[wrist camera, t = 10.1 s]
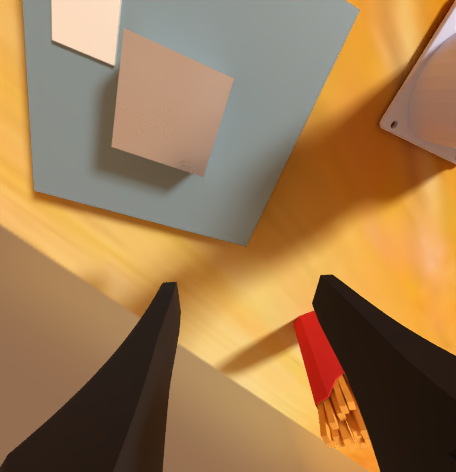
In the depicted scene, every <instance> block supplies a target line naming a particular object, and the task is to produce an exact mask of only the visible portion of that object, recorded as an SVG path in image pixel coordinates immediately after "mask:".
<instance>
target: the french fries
mask: <svg viewBox="0 0 456 472" xmlns="http://www.w3.org/2000/svg"><path fill="white" fill-rule="evenodd" d="M293 324H294V327H295V331H296V335H297V339H298V342H299V346H300V350H301V353H302V357H303V361H304V365H305V368H306V372H307V376H308V379H309V383H310V387H311V391H312V394H313V398H314V402H315V405H316V407H317V409H318V414H319V423H320V431H321V437H322V438H323V440H324V442H325V443H326V444H328V447H331V448H335V444H336V445H339V447H345V448H349V451H352V450H356V447H355V443H354V441H353V438H352V436H351V433H350V431H349V429H348V426H347V423H348V425H349V427H350V429H351V431H352V433H353V436H354V439H355V441H356V443H360V446H361V449H363V448H368V447H370V446H372V444H371V441H370V438H369V435H368V432H367V429H366V426H365V424H364V421H363V418H362V416H361V413H360V410H359V408H358V405H357V402H356V400H355V397H354V395H353V392H352V390H351V387H350V385H349V382H348V380H347V377H346V375H345V373H344V371H343V369H342V367H341V365H340V363H339V361H338V359H337V357H336V355H335V353H334V351H333V349H332V347H331V345H330V343H329V341H328V339H327V337H326V335H325V334H324V332H323V330H322V328H321V326H320V323H319V321H318V319H317V316H316V313H315V311H312V312H310V313H307V314H304V315H302V316H300V317H299V318H298V319H297V320H296V321H295V322H294V323H293ZM346 421H347V423H346ZM334 442H335V443H334Z"/></svg>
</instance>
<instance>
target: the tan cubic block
mask: <svg viewBox="0 0 456 472" xmlns="http://www.w3.org/2000/svg"><path fill="white" fill-rule="evenodd" d="M233 81H234V78H232V77H230V76H227V75H225V74H223V73H221V72H219V71H217V70H214V69H212V68H210V67H208V66H206V65H204V64H201V63H199V62H197V61H195V60H193V59H190V58H188V57H186V56H184V55H182V54H180V53H177V52H175V51H173V50H171V49H169V48H167V47H164V46H162V45H160V44H158V43H156V42H154V41H151V40H149V39H147V38H145V37H143V36H140V35H138V34H136V33H134V32H132V31H130V30H127V29H125V28H124V31H123V40H122V50H121V60H120V69H119V79H118V89H117V98H116V108H115V118H114V127H113V137H112V146H111V147H114V148H117V149H120V150H123V151H126V152H129V153H132V154H135V155H138V156H141V157H144V158H147V159H150V160H153V161H156V162H159V163H162V164H165V165H168V166H171V167H174V168H177V169H180V170H183V171H186V172H189V173H192V174H195V175H198V176H201V177H204V174H205V170H206V167H207V164H208V161H209V158H210V154H211V151H212V148H213V145H214V142H215V138H216V135H217V132H218V129H219V126H220V122H221V119H222V116H223V113H224V110H225V106H226V103H227V100H228V97H229V94H230V90H231V87H232V84H233Z"/></svg>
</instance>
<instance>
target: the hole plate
mask: <svg viewBox="0 0 456 472" xmlns="http://www.w3.org/2000/svg"><path fill="white" fill-rule="evenodd" d="M22 3H23V20H24V36H25V53H26V69H27V86H28V102H29V118H30V135H31V151H32V168H33V184H34V191H37V192H41V193H45V194H49V195H53V196H56V197H60V198H64V199H68V200H71V201H75V202H79V203H83V204H87V205H90V206H94V207H98V208H102V209H105V210H109V211H113V212H117V213H121V214H124V215H128V216H132V217H136V218H140V219H143V220H147V221H151V222H155V223H158V224H162V225H166V226H170V227H174V228H177V229H181V230H185V231H189V232H193V233H196V234H200V235H204V236H208V237H211V238H215V239H219V240H223V241H227V242H230V243H234V244H238V245H242V246H245V247H246V246H247V244H248V242H249V240H250V238H251V236H252V233H253V231H254V229H255V227H256V225H257V223H258V221H259V219H260V217H261V215H262V213H263V211H264V209H265V206H266V204H267V202H268V200H269V198H270V196H271V194H272V192H273V190H274V188H275V186H276V184H277V182H278V179H279V177H280V175H281V173H282V171H283V169H284V167H285V165H286V163H287V161H288V159H289V157H290V155H291V152H292V150H293V148H294V146H295V144H296V142H297V140H298V138H299V136H300V134H301V132H302V130H303V128H304V125H305V123H306V121H307V119H308V117H309V115H310V113H311V111H312V109H313V107H314V105H315V103H316V101H317V98H318V96H319V94H320V92H321V90H322V88H323V86H324V84H325V82H326V80H327V78H328V76H329V74H330V71H331V69H332V67H333V65H334V63H335V61H336V59H337V57H338V55H339V53H340V51H341V49H342V47H343V44H344V42H345V40H346V38H347V36H348V34H349V32H350V30H351V28H352V26H353V24H354V22H355V20H356V17H357V15H358V13H359V11H360V10H359V9H358V8H356V7H355V6H353V5H352V4H350V3H348V2H347V1H345V0H22ZM124 28H125V29H127V30H130V31H132V32H134V33H136V34H138V35H140V36H143V37H145V38H147V39H149V40H151V41H154V42H156V43H158V44H160V45H162V46H164V47H167V48H169V49H171V50H173V51H175V52H177V53H180V54H182V55H184V56H186V57H188V58H190V59H193V60H195V61H197V62H199V63H201V64H204V65H206V66H208V67H210V68H212V69H214V70H217V71H219V72H221V73H223V74H225V75H227V76H230V77H232V78H234V81H233V84H232V87H231V90H230V94H229V97H228V100H227V103H226V106H225V110H224V113H223V116H222V119H221V122H220V126H219V129H218V132H217V135H216V138H215V142H214V145H213V148H212V151H211V154H210V158H209V161H208V164H207V167H206V170H205V174H204V177H201V176H198V175H195V174H192V173H189V172H186V171H183V170H180V169H177V168H174V167H171V166H168V165H165V164H162V163H159V162H156V161H153V160H150V159H147V158H144V157H141V156H138V155H135V154H132V153H129V152H126V151H123V150H120V149H117V148H114V147H111V146H112V137H113V127H114V118H115V108H116V98H117V89H118V79H119V69H120V60H121V50H122V40H123V31H124Z"/></svg>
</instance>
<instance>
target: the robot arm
mask: <svg viewBox="0 0 456 472" xmlns="http://www.w3.org/2000/svg"><path fill="white" fill-rule="evenodd" d="M393 121H394V125H393V126H392V127H391V124H392V122H393ZM379 125H380V128H382V129H383V130H385V131H388V132H390V133H392V134H394V135H396V136H398V137H400V138H402V139H404V140H406V141H408V142H410V143H412V144H414V145H416V146H418V147H420V148H422V149H424V150H427V151H429V152H431V153H433V154H435V155H437V156H439V157H441V158H443V159H445V160H447V161H449V162H451V163H453V164H455V165H456V0H455V1H454V3H453V5H452V6H451V8H450V9H449V11H448V13H447V14H446V16H445V17H444V19H443V21H442V22H441V24H440V25H439V27H438V29H437V30H436V32H435V33H434V35H433V37H432V38H431V40H430V41H429V43H428V45H427V46H426V48H425V49H424V51H423V53H422V54H421V56H420V57H419V59H418V61H417V62H416V64H415V65H414V67H413V69H412V70H411V72H410V73H409V75H408V77H407V78H406V80H405V81H404V83H403V85H402V86H401V88H400V89H399V91H398V93H397V94H396V96H395V97H394V99H393V101H392V102H391V104H390V105H389V107H388V109H387V110H386V112H385V114H384V115H383V117H382V118H381V120H380V124H379ZM312 304H313V307H314V310H315V313H316V316H317V319H318V321H319V323H320V326H321V328H322V330H323V332H324V334H325V335H326V337H327V339H328V341H329V343H330V345H331V347H332V349H333V351H334V353H335V355H336V357H337V359H338V361H339V363H340V365H341V367H342V369H343V371H344V373H345V375H346V377H347V380H348V382H349V385H350V387H351V390H352V392H353V395H354V397H355V400H356V402H357V405H358V408H359V410H360V413H361V416H362V418H363V421H364V424H365V426H366V429H367V432H368V435H369V438H370V441H371V444H372V447H373V450H374V453H375V456H376V459H377V462H378V465H379V468H380V472H456V356H455V355H453V354H451V353H449V352H448V351H446V350H444V349H442V348H440V347H438V346H436V345H435V344H433V343H431V342H429V341H428V340H426V339H424V338H422V337H421V336H419V335H418V334H416V333H414V332H413V331H411V330H409V329H408V328H406V327H404V326H403V325H401V324H400V323H398V322H397V321H395V320H394V319H392V318H391V317H389V316H388V315H386V314H385V313H383V312H382V311H381V310H379V309H378V308H376V307H375V306H374V305H372V304H371V303H370V302H368V301H367V300H365V299H364V298H363V297H361V296H360V295H359V294H358V293H356V292H355V291H354V290H352V289H351V288H350V287H348V286H347V285H346V284H344V283H343V282H342V281H340V280H339V279H338V278H336V277H335V276H334V275H321V276H320V279H319V282H318V286H317V289H316V292H315V296H314V299H313V302H312ZM180 314H181V310H180V303H179V295H178V288H177V282H166V283H163V284H162V285H161V287H160V289H159V290H158V292H157V294H156V296H155V297H154V299H153V301H152V302H151V304H150V305H149V307H148V309H147V310H146V312H145V313H144V315H143V316H142V318H141V319H140V320H139V322H138V323H137V325H136V326H135V327H134V329H133V330H132V331H131V333H130V334H129V335H128V337H127V338H126V339H125V341H124V342H123V343H122V344H121V346H120V347H119V348H118V349H117V350H116V352H115V353H114V354H113V355H112V356H111V357H110V359H109V360H108V361H107V362H106V363H105V364H104V365H103V366H102V368H101V369H100V370H99V371H98V372H97V373H96V374H95V375H94V376H93V377H92V378H91V379H90V380H89V381H88V382H87V383H86V384H85V386H83V387H82V388H81V389H80V390H79V391H78V392H77V393H76V394H75V395H74V396H73V397H72V398H71V399H70V400H69V401H68V402H67V403H66V404H65V405H64V406H63V407H62V408H61V409H59V410H58V411H57V412H56V413H55V414H54V415H53V416H52V417H51V418H50V419H49V420H47V421H46V422H45V423H44V424H43V425H42V426H41V427H40V428H38V429H37V430H36V431H35V432H34V433H33V434H31V435H30V436H29V437H28V438H27V439H26V440H24V442H22V443H21V444H20V445H19V446H18V447H16V448H15V449H14V450H13V451H12V452H10V453H9V454H8V455H7V457H6V459H5V461H4V462H3V464H2V465H1V467H0V472H162V471H163V458H164V444H165V432H166V420H167V408H168V398H169V389H170V381H171V376H172V370H173V364H174V358H175V353H176V348H177V342H178V336H179V328H180Z"/></svg>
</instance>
